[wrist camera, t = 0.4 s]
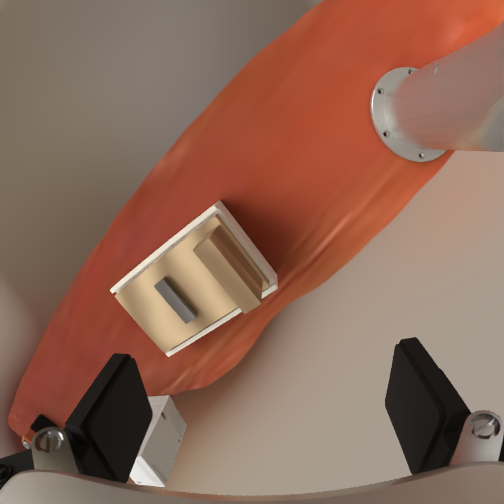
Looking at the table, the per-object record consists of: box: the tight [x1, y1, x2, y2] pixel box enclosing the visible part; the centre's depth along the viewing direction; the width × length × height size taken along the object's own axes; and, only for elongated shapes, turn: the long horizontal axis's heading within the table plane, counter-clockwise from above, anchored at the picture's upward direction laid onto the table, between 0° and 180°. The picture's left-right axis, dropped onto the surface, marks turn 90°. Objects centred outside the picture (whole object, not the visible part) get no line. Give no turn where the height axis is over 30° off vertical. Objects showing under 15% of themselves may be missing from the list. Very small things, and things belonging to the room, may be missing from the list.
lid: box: [115, 214, 270, 353], centre depth 35 cm, size 17×10×8 cm, turn 127°
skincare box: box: [130, 395, 187, 487], centre depth 43 cm, size 8×6×15 cm
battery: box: [22, 414, 57, 449], centre depth 51 cm, size 4×7×10 cm, turn 54°
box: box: [110, 200, 278, 357], centre depth 40 cm, size 18×12×4 cm, turn 127°
